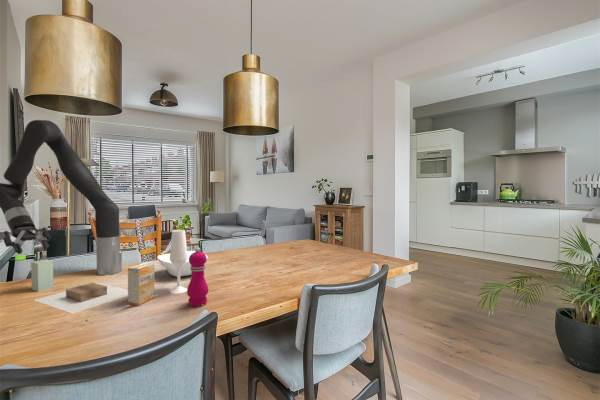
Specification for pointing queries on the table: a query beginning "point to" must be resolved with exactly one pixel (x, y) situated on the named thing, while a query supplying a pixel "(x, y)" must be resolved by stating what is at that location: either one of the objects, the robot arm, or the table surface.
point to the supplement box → (140, 283)
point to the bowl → (173, 269)
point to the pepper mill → (197, 279)
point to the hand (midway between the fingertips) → (34, 250)
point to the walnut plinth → (86, 292)
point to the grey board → (75, 306)
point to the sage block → (42, 275)
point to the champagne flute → (178, 256)
